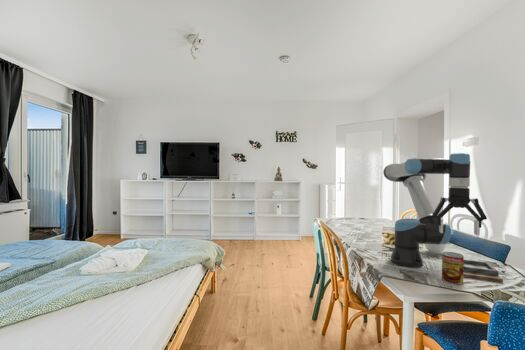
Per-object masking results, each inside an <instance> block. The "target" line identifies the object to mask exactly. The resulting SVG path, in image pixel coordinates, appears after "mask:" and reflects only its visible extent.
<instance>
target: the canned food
mask: <svg viewBox="0 0 525 350" xmlns="http://www.w3.org/2000/svg"><path fill="white" fill-rule="evenodd" d="M464 259H465V257H464V255H463V254H461V253H458V252H455V251H454V252H452V251H443V252H442V253H441V280H442V281H443V282H446V283H448V284H453V285H463V284H464V277H463V264H464Z"/></svg>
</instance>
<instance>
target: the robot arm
mask: <svg viewBox="0 0 525 350" xmlns="http://www.w3.org/2000/svg"><path fill="white" fill-rule="evenodd" d="M470 155H471V154H470V153H467V152H464V153H463V152H459V153H458V152H457V153H450V154H449V157H448V158H408V159H407V160H406V161H405V162H401V163H391V164H388V165H387V166H385V168H383V176H384V178H385V179H386V180H387V181H390V182H395V183H402V184H403V186H404V187H405V188H407V189H408V194H409V195H410V198H411V201H412V205H413V207H414V209H415V213H416V215H417V217H418V219H417V218H401V219H398V220H397V219H396V221H395V222H394V247H393V251H392V254H391V255H390V261H391V262H392V263H393V264H395V265H397V266H398V265H399V266H403V267H408V268H420V267H422V266H423V265H424V263H423V262H424V261H423V258H422V255H421V251H420V245H421V244H422V245H425V244H437V245H439V244H445V245H446V244H448V243H449V241H450V240H451V237H452V228H451V226H450V224H449V223H448V222H446V221H444V219H443V217H444V216H446V214H447V213H448V212H450V210H451V209H453V208H456V209H457V208H458V209H459V208H461V209H464V208H465V210H467V211H468V212H469V213H470V214H471V216H473V218H474V220H473V222H474V223H473V234H474V235H475V236H477V237H478V236H480V229H481V228H482V221H484V220H488V218H487V215H486V214H485V212H484V210H483V208H482V207H481V204H479V203H480V202H479V198H476V197H473V198H470V194H471V193H470V191H471V189H470V185H471V181H470V180H471V177H470V176H471V156H470ZM427 174H429V175H434V174H435V175H449V176H448V177H449V178H448V186H449V188H448V197H444V196H441V197H440V200H439V203H438V205H437V206H436V208H435V209H434V207H433V205H432V202H431V199H430V197H429V195H428V193H427V189H426V188H425V186H424V181H425V179H426V177H427V176H426V175H427ZM447 202H448V204H447V206H445V207H444V205H445V203H447ZM470 203H471V204H473V206H474V207H475V210H476V211H477V212H476V211H475V210H474V209H473V208H472V206H471V205H469V204H470ZM443 207H444V209H443V210H442V208H443ZM441 210H442V211H441Z"/></svg>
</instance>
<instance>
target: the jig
mask: <svg viewBox="0 0 525 350" xmlns="http://www.w3.org/2000/svg"><path fill="white" fill-rule="evenodd" d="M463 278H467V279H468V278H469V279H475V280H482V281H483V280H484V281H487V282H488V281H489V282H496V283H497V282H498V283H503V282H504V279H503V278H502V277H501V276H500V275H499V271H498V270H497V269H496V268H495V267H494V266H493V265H491V263H489V262H488V261H481V260H472V259H466V258H464V264H463Z"/></svg>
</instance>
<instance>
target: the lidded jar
mask: <svg viewBox="0 0 525 350" xmlns="http://www.w3.org/2000/svg"><path fill="white" fill-rule="evenodd" d="M424 247H425V249H426V250H427V251H428V253H430V254H433V255H440V254H441V255H442V252H445V249H446V244H439V245H437V244H424Z"/></svg>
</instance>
